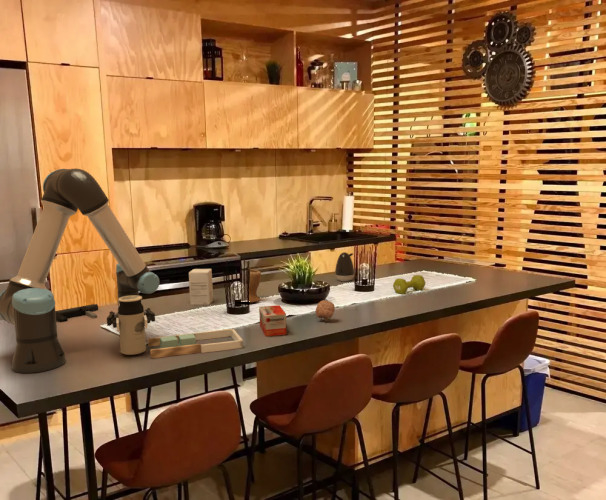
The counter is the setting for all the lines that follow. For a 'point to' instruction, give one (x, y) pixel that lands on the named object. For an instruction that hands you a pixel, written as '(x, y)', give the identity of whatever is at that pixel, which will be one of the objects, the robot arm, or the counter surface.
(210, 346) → the tray
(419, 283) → the dumbbell
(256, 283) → the brown boot
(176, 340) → the chip
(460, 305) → the counter surface
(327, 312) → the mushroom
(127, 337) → the travel mug
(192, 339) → the chip
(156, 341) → the slot rails
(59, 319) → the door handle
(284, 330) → the medicine box
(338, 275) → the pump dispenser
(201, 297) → the supplement box
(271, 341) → the counter surface
